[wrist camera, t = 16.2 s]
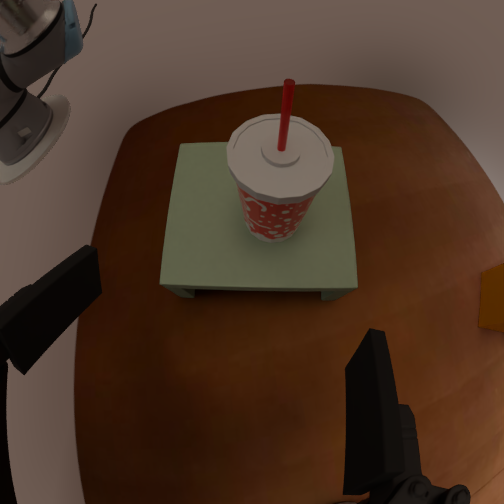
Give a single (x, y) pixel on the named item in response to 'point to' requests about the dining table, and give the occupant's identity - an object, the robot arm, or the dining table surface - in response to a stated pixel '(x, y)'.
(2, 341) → the robot arm
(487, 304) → the orange juice
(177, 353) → the dining table surface
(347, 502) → the coffee cup
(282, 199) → the beverage cup
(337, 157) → the shelf
